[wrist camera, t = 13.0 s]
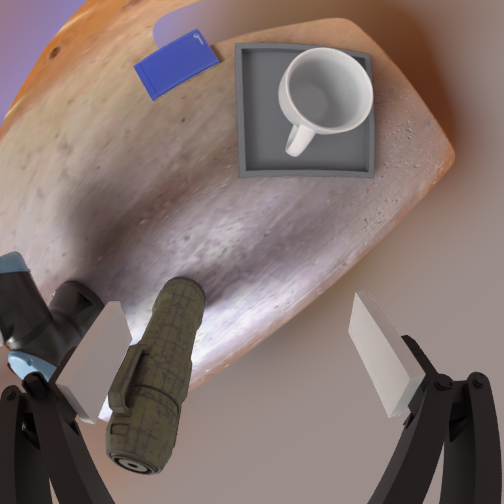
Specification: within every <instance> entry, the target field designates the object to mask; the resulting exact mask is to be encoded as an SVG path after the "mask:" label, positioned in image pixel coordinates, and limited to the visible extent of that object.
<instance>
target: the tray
mask: <svg viewBox="0 0 504 504" xmlns="http://www.w3.org/2000/svg"><path fill="white" fill-rule="evenodd" d="M314 48H331V47H323V46H313V45H302V44H287V43H235V72H236V102H237V129H238V155H239V178H246V177H283V176H319V177H355V178H374V158H375V124H374V98H373V103H372V107H371V110H370V113H369V114H368V116H367V118H366V119H365V120H364V121H363V122H362V123H361V124H360V125H359V126H357V127H356V128H354V129H352V130H349V131H346V132H341V133H336V134H315V135H314V137H313V139H312V140H311V142H310V143H309V144H308V145H307V147H306V148H305V149H304V151H303V152H302V153H301V154H300V155H299V156H297V157H294V156H291V155H289V154H288V153H287V152H286V151H285V148H286V145H287V141H288V138H289V135H290V133H291V130H292V127H293V125H294V124H292V123H291V122H290V121H289V120H288V119H287V118H286V117H285V115H284V113H283V111H282V109H281V107H280V104H279V98H278V92H279V91H278V90H279V85H280V82H281V79H282V77H283V75H284V73H285V71H286V69H287V68H288V67H289V65H290V64H291V62H292V61H293V60H294V59H295V58H296V57H297V56H298V55H300V54H301V53H303V52H305V51H307V50H310V49H314ZM332 49H336V50H339V51H341V52H344V53H346V54H348V55H349V56H351V57H352V58H354V59H355V60H356V61H357V62H358V63H359V64H360V65H361V66H362V67H363V68H364V70H365V71H366V73H367V74H368V76H369V79H370V81H371V84H372V88H373V83H372V71H371V61H370V54H366V53H361V52H356V51H350V50H344V49H338V48H332Z"/></svg>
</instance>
